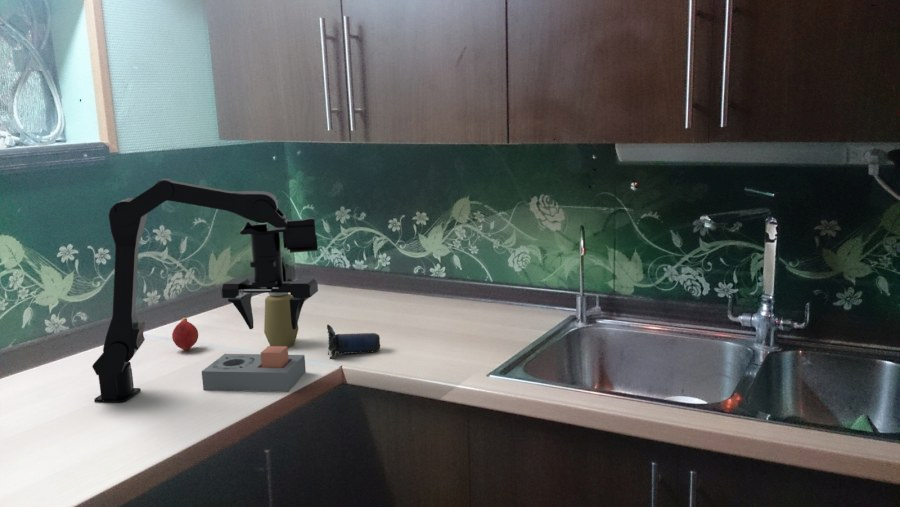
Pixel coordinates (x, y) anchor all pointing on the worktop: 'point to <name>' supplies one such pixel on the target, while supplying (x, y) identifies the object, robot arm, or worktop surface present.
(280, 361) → the square peg
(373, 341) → the flanged blue cylinder
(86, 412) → the worktop surface
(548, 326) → the worktop surface
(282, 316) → the squeeze bottle
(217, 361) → the socket block
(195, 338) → the onion
